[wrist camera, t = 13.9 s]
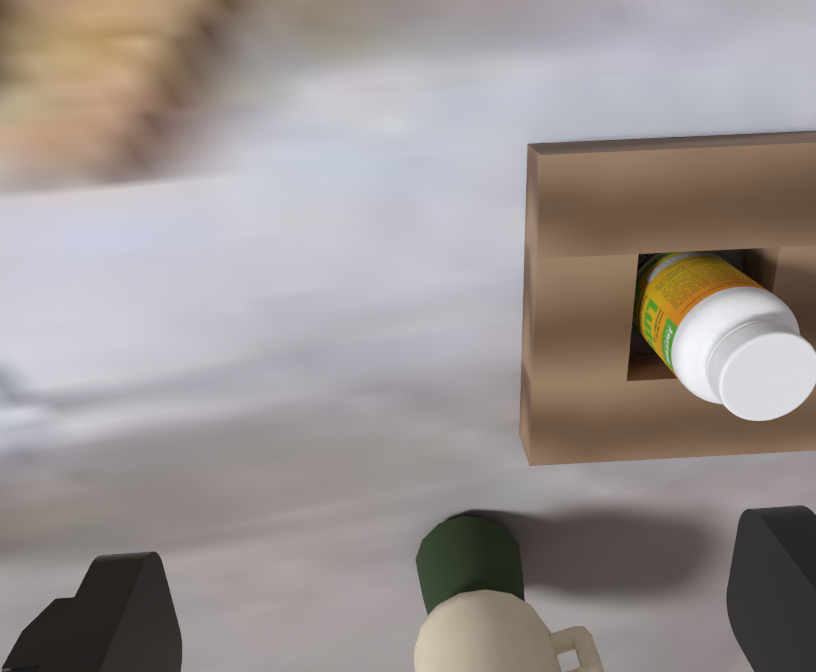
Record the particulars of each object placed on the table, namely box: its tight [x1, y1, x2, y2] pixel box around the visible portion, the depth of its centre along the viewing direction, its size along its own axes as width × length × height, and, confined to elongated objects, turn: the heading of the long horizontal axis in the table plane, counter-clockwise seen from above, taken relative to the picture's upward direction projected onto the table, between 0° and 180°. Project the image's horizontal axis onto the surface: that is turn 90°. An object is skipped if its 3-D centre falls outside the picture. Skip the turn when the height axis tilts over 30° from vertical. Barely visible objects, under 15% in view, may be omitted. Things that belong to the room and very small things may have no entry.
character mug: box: [414, 516, 604, 672], centre depth 38 cm, size 11×7×13 cm, turn 111°
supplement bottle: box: [632, 251, 816, 421], centre depth 33 cm, size 5×5×10 cm
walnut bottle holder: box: [520, 131, 816, 466], centre depth 36 cm, size 16×16×3 cm
